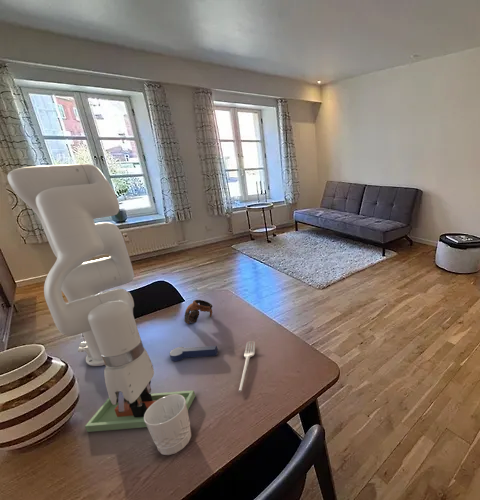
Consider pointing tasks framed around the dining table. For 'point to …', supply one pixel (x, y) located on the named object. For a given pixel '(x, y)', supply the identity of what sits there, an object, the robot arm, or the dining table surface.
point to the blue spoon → (192, 352)
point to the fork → (246, 362)
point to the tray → (110, 421)
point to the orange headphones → (196, 310)
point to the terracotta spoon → (129, 412)
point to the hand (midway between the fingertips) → (144, 411)
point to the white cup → (169, 423)
